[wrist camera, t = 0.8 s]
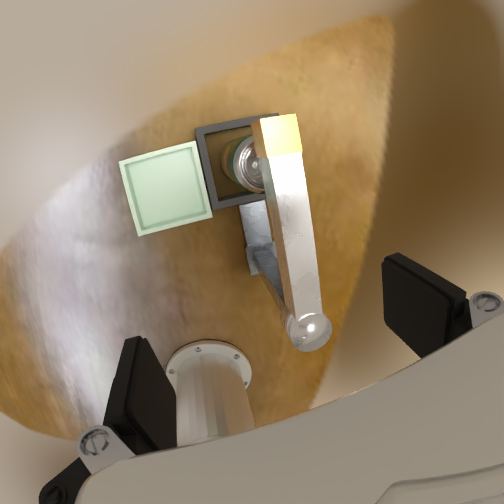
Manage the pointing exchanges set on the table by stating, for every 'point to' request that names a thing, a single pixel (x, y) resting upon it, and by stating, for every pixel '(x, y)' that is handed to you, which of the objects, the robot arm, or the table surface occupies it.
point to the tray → (166, 188)
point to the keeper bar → (291, 230)
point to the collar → (200, 132)
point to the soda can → (243, 164)
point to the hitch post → (261, 248)
